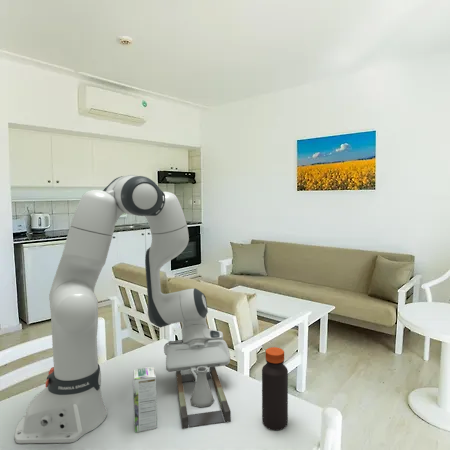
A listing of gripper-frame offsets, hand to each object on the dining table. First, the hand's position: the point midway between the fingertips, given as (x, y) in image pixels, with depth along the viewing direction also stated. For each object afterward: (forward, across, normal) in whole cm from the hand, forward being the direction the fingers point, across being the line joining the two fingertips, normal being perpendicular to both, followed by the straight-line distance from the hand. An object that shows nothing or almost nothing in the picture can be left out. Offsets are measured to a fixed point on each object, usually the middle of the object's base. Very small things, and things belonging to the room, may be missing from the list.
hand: (200, 382), depth 107 cm
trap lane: (+3, 0, +3) cm, 4 cm away
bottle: (+15, +18, -8) cm, 25 cm away
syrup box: (+10, -16, -3) cm, 19 cm away
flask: (+5, 0, +2) cm, 5 cm away
